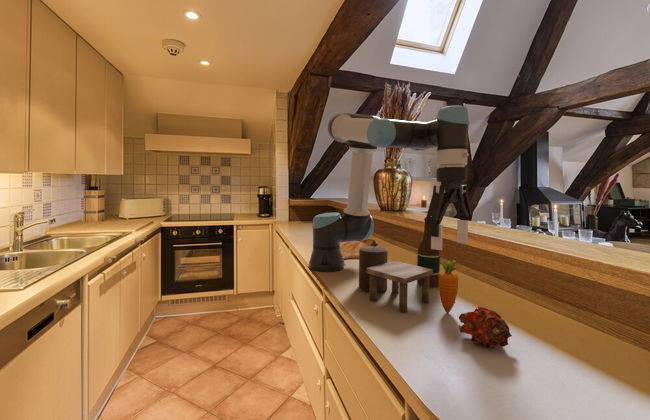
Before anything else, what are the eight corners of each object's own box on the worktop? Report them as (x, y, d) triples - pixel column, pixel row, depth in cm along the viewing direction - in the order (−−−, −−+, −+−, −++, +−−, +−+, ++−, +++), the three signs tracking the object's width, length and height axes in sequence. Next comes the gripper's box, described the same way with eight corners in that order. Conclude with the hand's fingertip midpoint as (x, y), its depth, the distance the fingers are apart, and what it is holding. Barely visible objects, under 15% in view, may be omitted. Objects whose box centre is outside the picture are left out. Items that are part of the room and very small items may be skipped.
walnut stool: (366, 299, 93) (366, 268, 92) (394, 289, 102) (394, 260, 101) (404, 314, 82) (404, 278, 82) (432, 302, 91) (433, 269, 91)
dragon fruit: (509, 366, 61) (460, 346, 72) (528, 334, 64) (478, 320, 75) (489, 337, 60) (442, 321, 70) (509, 305, 63) (461, 295, 74)
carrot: (433, 311, 85) (435, 258, 84) (447, 308, 87) (448, 256, 85) (447, 318, 80) (449, 262, 79) (461, 314, 82) (463, 260, 81)
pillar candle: (364, 294, 98) (364, 248, 97) (355, 284, 108) (355, 243, 107) (392, 291, 100) (392, 247, 99) (380, 282, 110) (381, 241, 109)
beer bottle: (436, 281, 111) (438, 216, 110) (442, 288, 104) (444, 218, 102) (414, 280, 112) (416, 216, 110) (419, 287, 104) (420, 218, 103)
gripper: (440, 163, 69) (438, 254, 71) (486, 167, 85) (484, 242, 87) (412, 165, 75) (410, 250, 77) (460, 169, 91) (458, 239, 93)
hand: (450, 246), depth 82 cm, fingers open, 13 cm apart
